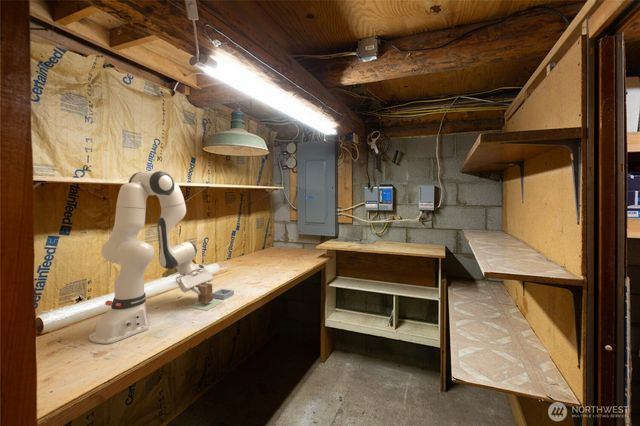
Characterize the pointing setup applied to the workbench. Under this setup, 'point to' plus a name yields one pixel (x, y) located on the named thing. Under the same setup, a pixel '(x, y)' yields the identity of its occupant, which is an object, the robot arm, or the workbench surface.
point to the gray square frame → (226, 293)
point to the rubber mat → (205, 305)
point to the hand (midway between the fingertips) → (204, 292)
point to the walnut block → (205, 293)
